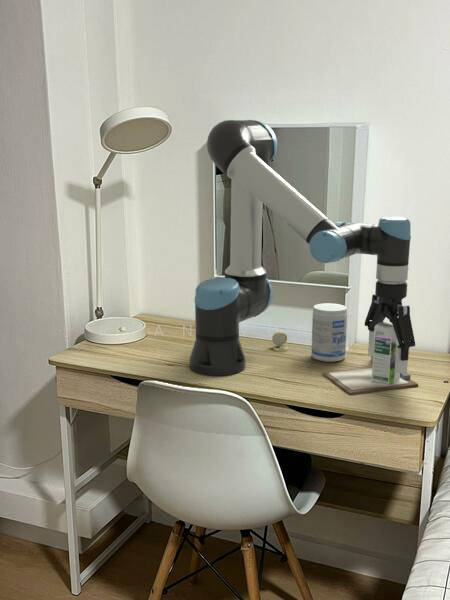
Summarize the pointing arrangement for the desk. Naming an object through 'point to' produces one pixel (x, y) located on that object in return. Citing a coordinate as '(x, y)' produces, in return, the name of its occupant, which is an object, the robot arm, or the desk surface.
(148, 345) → the desk surface
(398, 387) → the clipboard
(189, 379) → the desk surface
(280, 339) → the eyeshadow
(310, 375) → the desk surface
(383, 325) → the syrup box
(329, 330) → the supplement tub
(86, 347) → the desk surface
